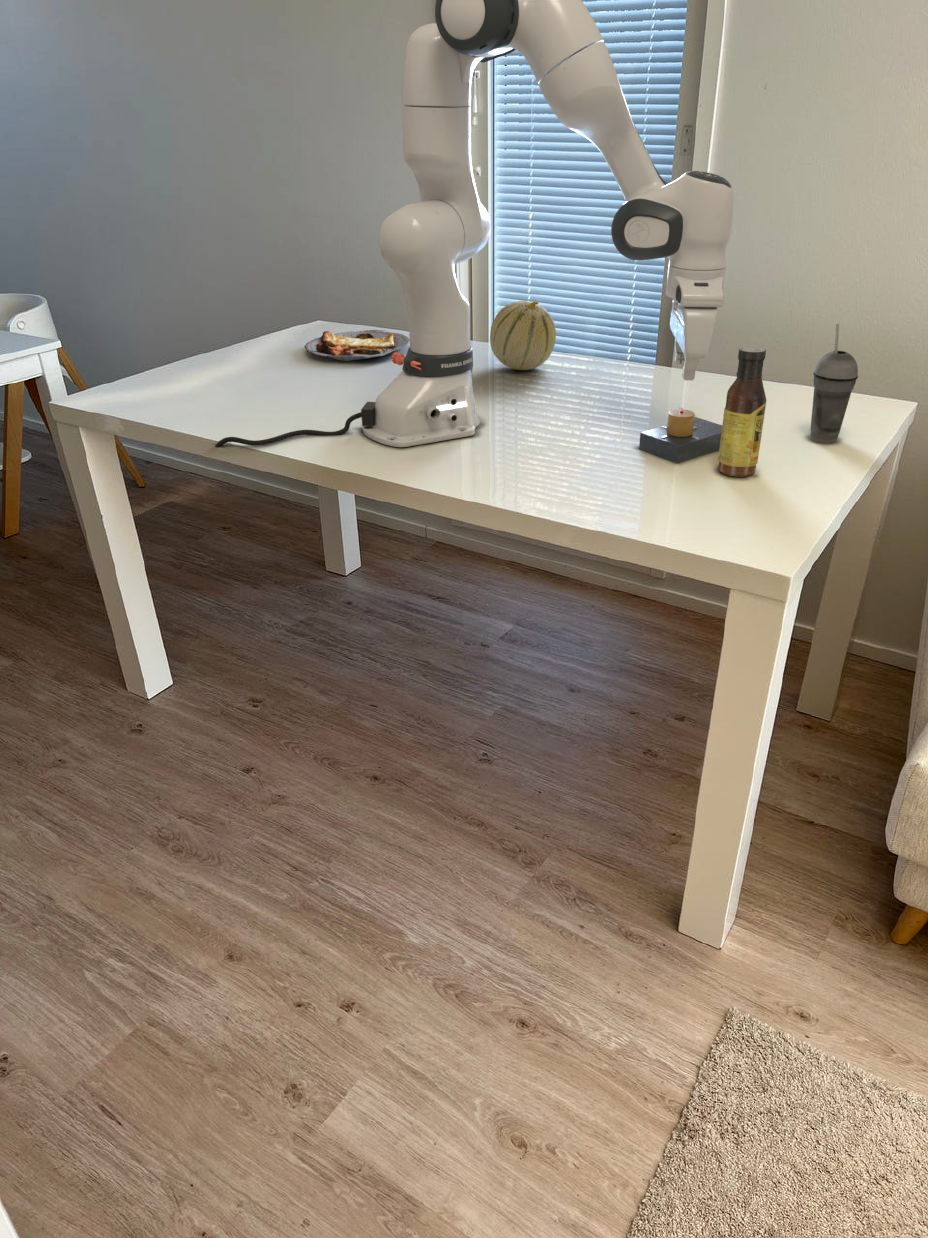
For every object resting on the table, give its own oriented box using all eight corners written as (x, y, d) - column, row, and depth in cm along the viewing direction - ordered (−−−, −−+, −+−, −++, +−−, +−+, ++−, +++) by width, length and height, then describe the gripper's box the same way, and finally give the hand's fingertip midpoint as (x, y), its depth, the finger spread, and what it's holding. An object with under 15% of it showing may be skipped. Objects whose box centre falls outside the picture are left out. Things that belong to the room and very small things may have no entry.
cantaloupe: (493, 359, 214) (493, 292, 207) (556, 360, 213) (558, 293, 205) (485, 377, 202) (485, 306, 194) (553, 378, 200) (555, 307, 192)
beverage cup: (839, 449, 160) (863, 331, 150) (797, 442, 163) (817, 326, 153) (849, 436, 165) (872, 322, 155) (807, 430, 168) (828, 317, 158)
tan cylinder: (694, 437, 157) (696, 415, 155) (667, 436, 158) (670, 415, 156) (690, 428, 161) (693, 407, 159) (665, 428, 161) (667, 407, 159)
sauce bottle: (757, 479, 148) (776, 355, 138) (717, 477, 149) (733, 353, 139) (754, 465, 154) (772, 344, 144) (715, 463, 155) (731, 343, 145)
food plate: (292, 362, 215) (291, 347, 213) (322, 338, 234) (321, 324, 233) (397, 366, 211) (396, 350, 209) (418, 341, 231) (417, 327, 229)
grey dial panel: (677, 463, 155) (679, 445, 154) (638, 448, 161) (640, 431, 160) (732, 445, 162) (734, 428, 161) (693, 432, 169) (695, 415, 167)
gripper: (666, 271, 156) (657, 354, 163) (683, 297, 139) (672, 388, 146) (704, 272, 156) (693, 354, 163) (725, 298, 138) (712, 389, 145)
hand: (683, 370), depth 154 cm, fingers open, 8 cm apart
